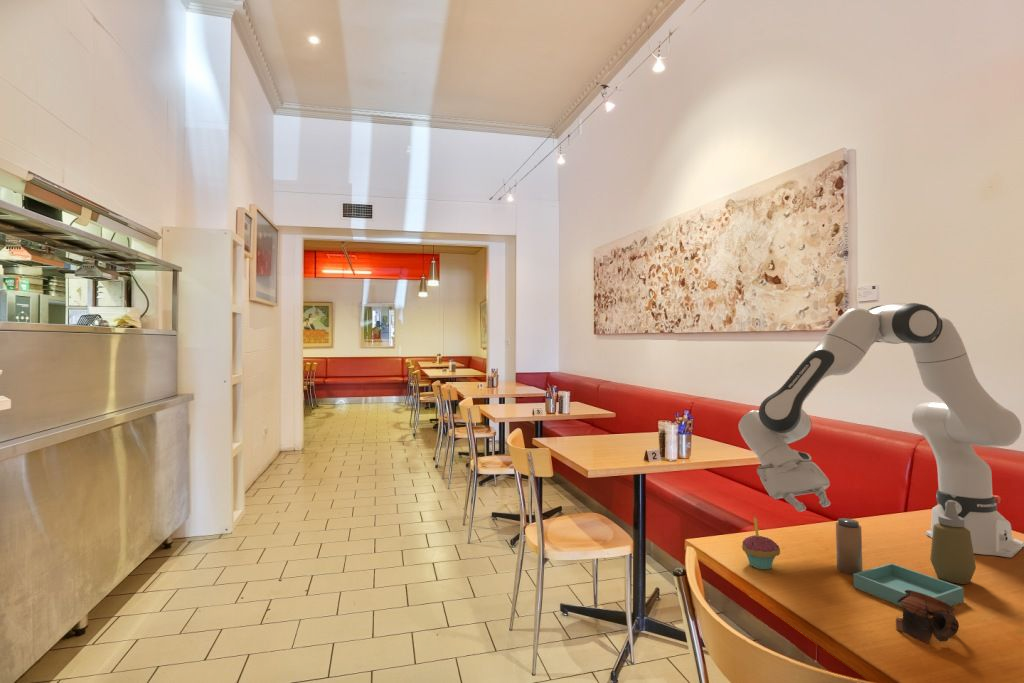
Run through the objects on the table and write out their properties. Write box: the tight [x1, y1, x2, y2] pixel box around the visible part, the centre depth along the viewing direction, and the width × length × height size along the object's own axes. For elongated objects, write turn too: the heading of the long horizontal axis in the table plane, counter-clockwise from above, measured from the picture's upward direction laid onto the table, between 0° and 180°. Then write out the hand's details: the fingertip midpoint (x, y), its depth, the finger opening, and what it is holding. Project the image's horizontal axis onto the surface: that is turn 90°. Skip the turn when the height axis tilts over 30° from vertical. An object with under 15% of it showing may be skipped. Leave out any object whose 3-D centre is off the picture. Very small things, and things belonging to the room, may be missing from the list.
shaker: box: [835, 517, 864, 576], centre depth 123 cm, size 5×5×12 cm
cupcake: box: [741, 514, 781, 570], centre depth 126 cm, size 9×8×12 cm
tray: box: [852, 562, 965, 616], centre depth 110 cm, size 14×14×3 cm
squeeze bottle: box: [930, 501, 977, 585], centre depth 118 cm, size 8×8×18 cm
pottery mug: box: [895, 590, 959, 644], centre depth 94 cm, size 12×10×8 cm
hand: (815, 508), depth 131 cm, fingers open, 8 cm apart
